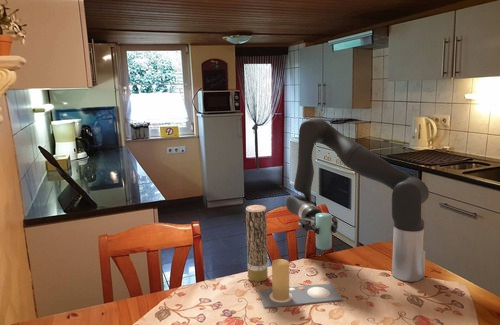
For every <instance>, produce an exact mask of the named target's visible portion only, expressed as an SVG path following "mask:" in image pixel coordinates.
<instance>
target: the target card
mask: <svg viewBox="0 0 500 325" xmlns="http://www.w3.org/2000/svg"><path fill="white" fill-rule="evenodd" d="M258 291H259V295H260V298H261V301H262V304H263V308H264V309H272V308H282V307H291V306H299V305H300V306H301V305H311V304H320V303H322V304H323V303H330V302H340V301H342V302H343V301H344V298H343V297H342V295H341V294H340V293H339V291H338V290H337V289H336V287H335V286H334V285H333V284H332V282H330V283H329V282H328V283H320V284H310V285H298V286H289V298H288V299H287V300H284V301H279V300H275V299H274V298H273V296H272V288H266V289H259V290H258Z"/></svg>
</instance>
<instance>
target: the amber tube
mask: <svg viewBox="0 0 500 325" xmlns="http://www.w3.org/2000/svg"><path fill="white" fill-rule="evenodd" d="M271 281H272V282H271V285H272V286H271V287H272V288H271V289H272V296H273V298H274V299H275V300H279V301H284V300H287V299H288V298H289V287H290V262H289V260H287V259H282V258H277V259H274V260H272V261H271Z"/></svg>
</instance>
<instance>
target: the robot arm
mask: <svg viewBox="0 0 500 325" xmlns="http://www.w3.org/2000/svg"><path fill="white" fill-rule="evenodd" d="M316 143H319V144H322V145H324V146H326V147H328V148H329V149H331V151H333V152H334V153H335V154H336V156H337V157H338V158H339V160H340V161H341V163H343V165H345V166H346V167H347V168H349V169H350V170H351V171H353V172H355V173H356V174H357V175H360V176H362V177H364V178H366V179H370V180H373V181H376V182H379V183H380V184H383V185H385V186H387V187H388V188H390V189H391V190H392V194H391V217H392V221H393V231H392V232H393V235H392V236H393V237H392V238H393V240H392V262H391V263H392V264H391V267H392V268H391V274H392V276H393V277H394V278H396V279H397V280H400V281H403V282H411V283H412V282H413V283H414V282H419V281H420V280H422V279H425V270H426V268H425V267H426V251H425V250H424V234H425V232H424V231H425V221H424V219H423V218H422V205H423V203H425V202H426V201H427V200H428V199H429V196H430V191H429V188H428V186H427V184H426V182H424V181H423V180H421V179H419V178H417V177H416V176H414V175H411V174H409V173H407V172H405V171H403V170H401V169H399V168H398V167H395V165H392V164H391V163H389V162H388V161H387V160H385V159H384V158H382V157H380V156H378V155H377V154H376V153H374V152H372V150H369V149H368V148H367V147H365V146H363V145H361V144H360V143H358V142H357V141H354V140H353V139H351V138H350V137H348V136H346V135H344V134H343V133H342V132H340V131H338V130H337V129H336V128H334V127H333V126H332V125H331V124H330V123H328V122H327V121H325V120H324V119H321V118H312V119H307V120H304V121H303V122H301V124H300V126H299V130H298V148H297V149H298V152H297V154H298V156H297V168H296V173H295V178H294V183H293V184H294V185H293V189H294V190H295V191H296V192H299V193H301V194H303V195H298V194H293V195H290V196H289V195H288V197H287V199H286V201H285V206H286V209H287V211H289V213H291V214H292V215H295V216H298V217H299V219H297V220H298V221H297V222H298V224H297V225H298V228H301V229H302V230H303V231H305V232H309V230H310V232H313V234H315V235H316V234H319V228H318V227H317V226H316V214H318V213H323V211H322V210H321V209H319V208H318V207H317V206H315V204H313V201H312V187H313V186H312V185H313V181H314V176H315V175H314V174H315V171H314V170H315V168H314V164H313V150H314V147H315V144H316ZM338 223H339V221H338V218H337V217H336V216H334V215H333V216H332V233H333V234H335V233H336V232H338V231H337V230H338V228H339V227H338V225H339V224H338Z"/></svg>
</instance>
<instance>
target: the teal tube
mask: <svg viewBox="0 0 500 325" xmlns="http://www.w3.org/2000/svg"><path fill="white" fill-rule="evenodd" d="M332 217H333V216H332V214H331V213H328V212H322V213H318V214H316V226H317V227H318V228H319V234H316V233H315V248H316V249H318V250H322V251H326V250H327V251H329V250H331V249H332V244H333V243H332V242H333V241H332V240H333V236H332V235H333V234H332V233H333V232H332Z"/></svg>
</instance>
